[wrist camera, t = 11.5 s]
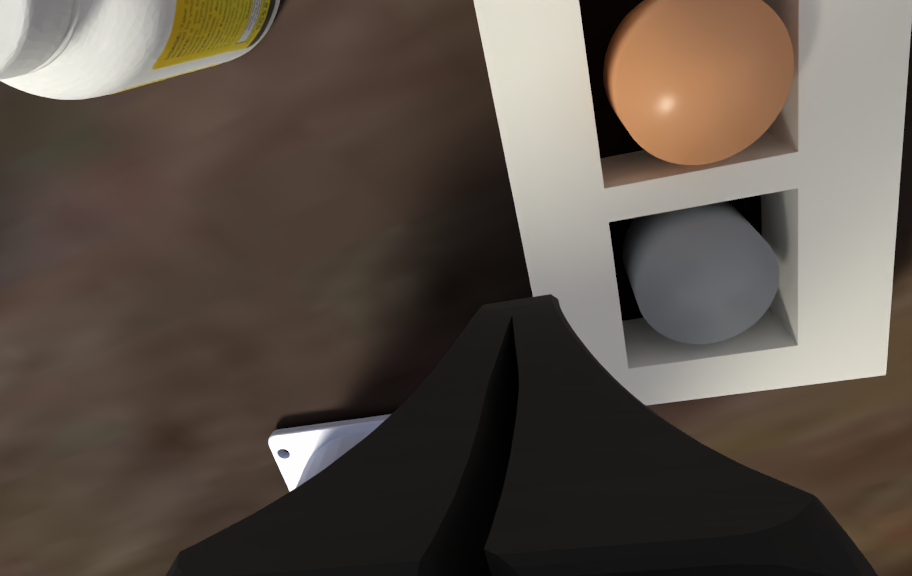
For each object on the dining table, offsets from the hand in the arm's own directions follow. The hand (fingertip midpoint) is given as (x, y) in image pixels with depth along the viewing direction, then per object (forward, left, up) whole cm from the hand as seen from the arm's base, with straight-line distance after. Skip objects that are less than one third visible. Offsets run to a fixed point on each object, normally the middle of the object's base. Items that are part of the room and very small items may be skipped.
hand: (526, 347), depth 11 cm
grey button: (-3, -5, -10) cm, 12 cm away
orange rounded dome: (+3, -5, -9) cm, 11 cm away
